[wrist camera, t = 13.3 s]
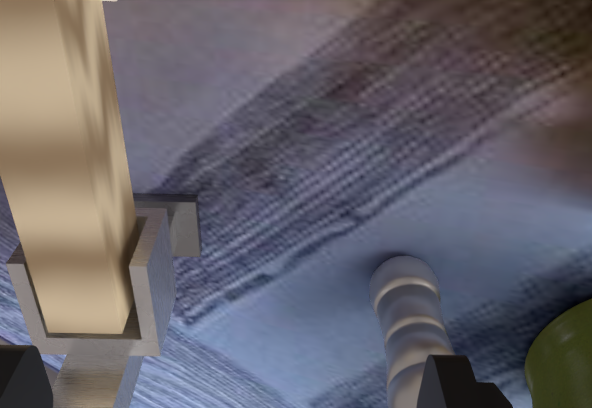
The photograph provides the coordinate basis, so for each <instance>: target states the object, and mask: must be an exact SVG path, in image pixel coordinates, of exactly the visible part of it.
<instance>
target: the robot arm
mask: <svg viewBox="0 0 592 408" xmlns="http://www.w3.org/2000/svg"><path fill="white" fill-rule="evenodd" d="M0 408H53V392H52V389H51V386H50V383H49V380H48V377H47V374H46V371H45V367H44V364H43V361H42V358H41V355H40V352H39V350H38V348H37V347H36V346H34V345H0ZM417 408H513V407H512V404H511V403H510V402H509V401H508V400H507V398H506V397H505V396H504V395H503V394H502V392H501V391H500V390H499V389H498V388H497V386H496V385H495V384H494V383H484V382H476V380H475V377H474V373H473V370H472V367H471V364H470V362H469V359H468V358H467V356H465V355H434V354H430V355H428V357H427V359H426V364H425V368H424V372H423V377H422V381H421V386H420V390H419V395H418V399H417Z"/></svg>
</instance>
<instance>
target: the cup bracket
mask: <svg viewBox="0 0 592 408" xmlns="http://www.w3.org/2000/svg"><path fill="white" fill-rule="evenodd" d="M133 200H134V206H135V213H136V219H137V225H138V231H139V238H140V239H139V241H138V244H137V247H136V249H135V252H134V254H133V257H132V259H131V262H130V265H129V270H130V276H131V281H132V287H133V292H134V301H133V304H132V307H131V310H130V312H129V315H128V318H127V321H126V324H125V327H124V330H123V333H122V334H99V333H48V329H47V326H46V323H45V320H44V316H43V313H42V310H41V307H40V303H39V300H38V297H37V293H36V290H35V287H34V284H33V280H32V277H31V274H30V271H29V267H28V264H27V261H26V258H25V254H24V251H23V248H22V245H21V242H20V243H19V245H18V246H17V248H16V249H15V251H14V252H13V254H12V255H11V257H10V258H9V260H8V261H7V263H6V266H7V269H8V272H9V275H10V278H11V281H12V284H13V287H14V290H15V293H16V296H17V299H18V302H19V305H20V308H21V311H22V314H23V317H24V320H25V323H26V326H27V329H28V332H29V335H30V338H31V341H32V344H33V345H34V346H36V347H37V348H38V350H39V352H40V354H65V355H67V356H66V358H65V360H64V363H63V365H62V367H61V369H60V372H59V374H58V377H57V379H56V381H55V383H54V386H53V388H52V392H53V408H129V406H130V403H131V400H132V396H133V393H134V389H135V386H136V382H137V379H138V376H139V372H140V369H141V365H142V362H143V358H144V356H161V352H162V348H163V344H164V340H165V337H166V333H167V329H168V325H169V321H170V317H171V314H172V310H173V306H174V302H175V298H176V294H177V290H176V282H175V273H174V265H173V256H186V257H200V255H201V251H202V243H201V231H200V219H199V207H198V195H170V194H133Z"/></svg>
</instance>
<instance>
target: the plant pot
mask: <svg viewBox="0 0 592 408" xmlns="http://www.w3.org/2000/svg"><path fill="white" fill-rule="evenodd" d="M524 370H525V378H526V382H527V385H528V388H529V391H530V394H531V397H532V404H533V408H592V299H589V300H587V301H585V302H582V303H580V304H578V305H576V306H574V307H573V308H571V309H569V310H567V311H566V312H564V313H563V314H561V315H560V316H558V317H557V318H555V319H554V320H553V321H552V322H551V323H549V324H548V325H547V326H546V327H545V328H544V329H543V330H542V331H541V332H540V334H539V335H538V336H537V337H536V339H535V340H534V342H533V344H532V345H531V347H530V349H529V351H528V354H527V357H526V361H525V369H524Z"/></svg>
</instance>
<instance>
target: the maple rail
mask: <svg viewBox="0 0 592 408" xmlns="http://www.w3.org/2000/svg"><path fill="white" fill-rule="evenodd" d="M0 176H1V179H2V182H3V186H4V189H5V192H6V196H7V199H8V202H9V205H10V209H11V212H12V215H13V218H14V222H15V225H16V228H17V231H18V235H19V238H20V241H21V245H22V248H23V251H24V254H25V258H26V261H27V264H28V267H29V271H30V274H31V277H32V280H33V284H34V287H35V290H36V293H37V297H38V300H39V303H40V307H41V310H42V313H43V316H44V320H45V323H46V326H47V329H48V333H99V334H122V333H123V330H124V327H125V324H126V321H127V318H128V315H129V312H130V310H131V307H132V304H133V301H134V292H133V287H132V281H131V276H130V270H129V265H130V262H131V259H132V257H133V254H134V252H135V249H136V247H137V244H138V241H139V239H140V238H139V231H138V225H137V219H136V213H135V206H134V200H133V194H132V187H131V181H130V175H129V169H128V162H127V156H126V150H125V144H124V137H123V131H122V125H121V118H120V112H119V106H118V100H117V93H116V87H115V81H114V75H113V68H112V62H111V56H110V49H109V43H108V37H107V31H106V24H105V18H104V12H103V6H102V0H0Z"/></svg>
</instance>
